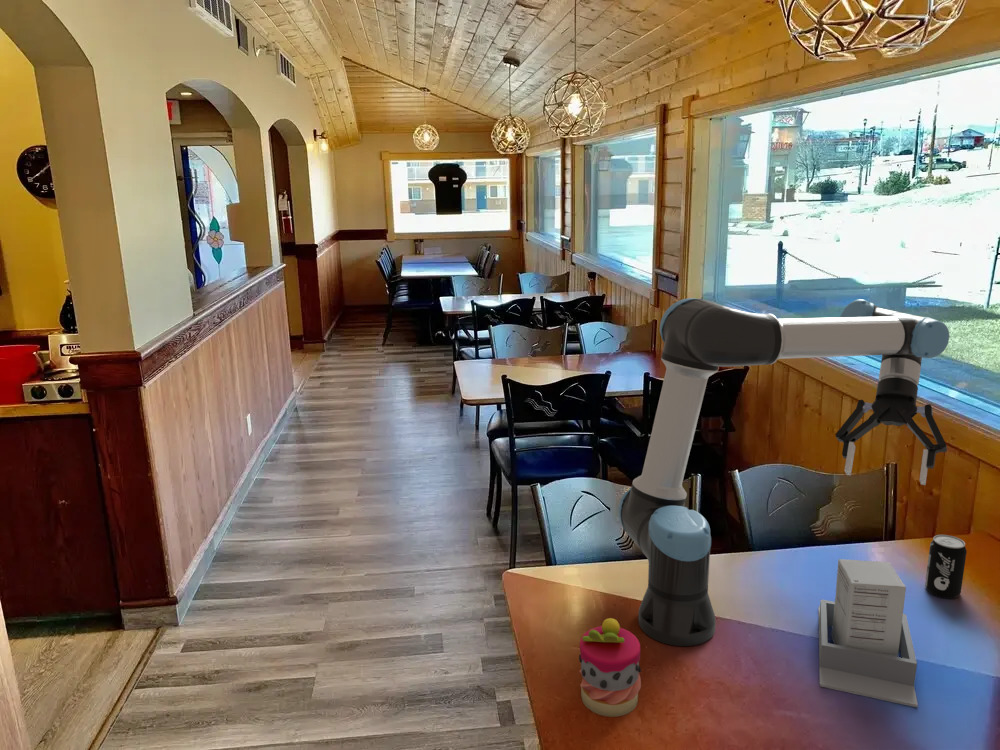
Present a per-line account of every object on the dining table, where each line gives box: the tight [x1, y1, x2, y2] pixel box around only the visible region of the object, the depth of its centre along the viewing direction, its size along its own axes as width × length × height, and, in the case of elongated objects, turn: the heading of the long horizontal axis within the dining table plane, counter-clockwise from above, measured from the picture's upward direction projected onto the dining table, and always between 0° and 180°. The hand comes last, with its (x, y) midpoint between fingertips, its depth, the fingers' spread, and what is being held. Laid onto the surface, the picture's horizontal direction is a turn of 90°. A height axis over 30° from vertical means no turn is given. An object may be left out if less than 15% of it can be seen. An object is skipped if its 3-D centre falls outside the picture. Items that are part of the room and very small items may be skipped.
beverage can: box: [924, 534, 968, 599], centre depth 151 cm, size 7×7×12 cm
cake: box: [578, 617, 642, 718], centre depth 122 cm, size 10×11×15 cm
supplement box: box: [831, 558, 907, 657], centre depth 131 cm, size 10×9×17 cm
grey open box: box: [817, 599, 919, 709], centre depth 133 cm, size 15×26×5 cm, turn 157°
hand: (883, 477), depth 144 cm, fingers open, 13 cm apart
